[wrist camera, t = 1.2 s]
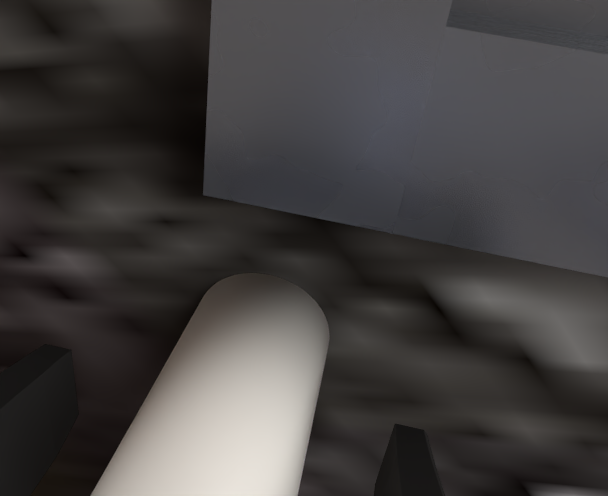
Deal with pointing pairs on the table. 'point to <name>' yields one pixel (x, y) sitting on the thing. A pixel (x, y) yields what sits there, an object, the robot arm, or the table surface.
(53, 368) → the robot arm
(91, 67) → the table surface
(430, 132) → the socket block
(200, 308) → the peg
